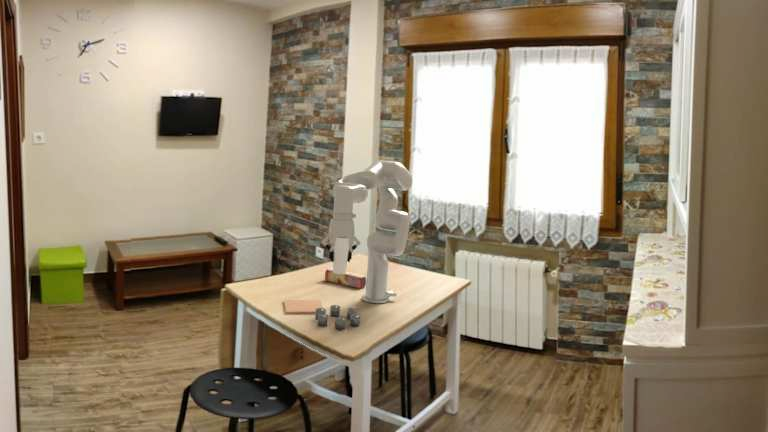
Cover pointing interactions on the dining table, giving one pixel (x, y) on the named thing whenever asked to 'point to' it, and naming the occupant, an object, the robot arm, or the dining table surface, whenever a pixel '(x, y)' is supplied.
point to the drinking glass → (340, 255)
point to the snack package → (346, 278)
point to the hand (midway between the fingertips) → (340, 260)
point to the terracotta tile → (302, 306)
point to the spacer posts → (339, 321)
